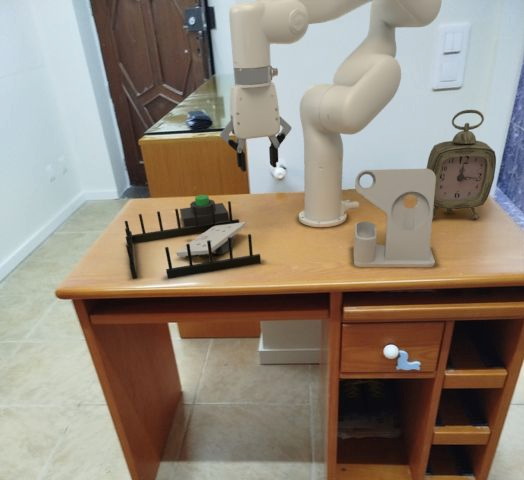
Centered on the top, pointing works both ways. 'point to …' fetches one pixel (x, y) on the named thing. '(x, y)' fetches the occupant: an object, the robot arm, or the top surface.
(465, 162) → the tabletop clock
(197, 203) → the button
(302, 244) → the top surface
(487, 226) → the top surface
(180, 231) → the dish rack
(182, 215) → the control block
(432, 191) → the phone holder
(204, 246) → the wall socket
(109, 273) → the top surface
